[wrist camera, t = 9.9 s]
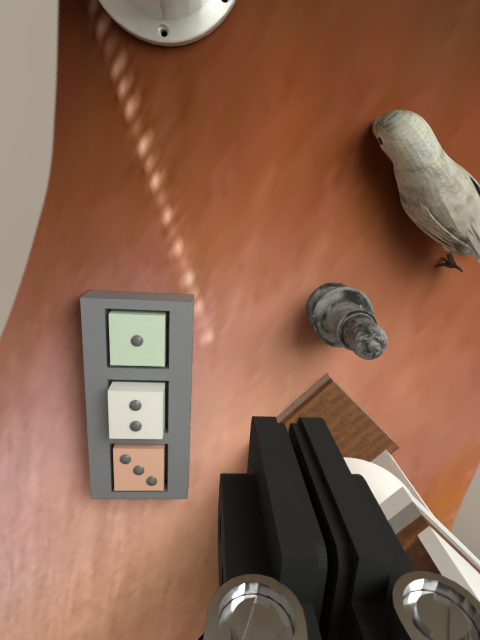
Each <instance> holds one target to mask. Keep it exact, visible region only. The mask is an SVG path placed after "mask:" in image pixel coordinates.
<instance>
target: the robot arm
mask: <svg viewBox="0 0 480 640" xmlns="http://www.w3.org/2000/svg"><path fill="white" fill-rule="evenodd" d="M99 2H100V4H101V5H102V7H103V8H104V9H105V10H106V12H107V13H108V14H109V15H110V17H111V18H112V19H113V20H114V21H115V22H116V23H117V24H118V25H119V26H121V27H122V28H123V29H124V30H125V31H127V32H128V33H130V34H132V35H133V36H135V37H137V38H138V39H140V40H143V41H146V42H148V43H151V44H155V45H161V46H183V45H186V44H189V43H193V42H196V41H198V40H200V39H202V38H204V37H205V36H207V35H209V34H210V33H211V32H213V31H214V30H215V29H216V28H217V27H218V26H219V25H221V24H222V22H223V21H224V20H225V18H226V17H227V16H228V14H229V13H230V12H231V10H232V8H233V6H234V4H235V2H236V0H228V2H227V3H224V2H222V1H221V0H99ZM162 32H167V36H166V37H162V36H161V34H162ZM218 559H219V589H218V590H217V592H216V593H215V595H214V596H213V597H212V600H211V603H210V606H209V609H208V612H207V619H206V625H205V632H204V634H203V635H202V636H201V637H200V638H199V639H198V640H480V602H479V601H478V600H477V599H476V598H475V597H474V596H473V595H472V594H471V593H470V592H469V591H468V590H466V589H465V588H464V587H462V586H461V585H459V584H458V583H456V582H455V581H453V580H451V579H449V578H446V577H444V576H442V575H440V574H436V573H432V572H428V571H415V569H414V567H413V565H412V563H411V562H410V560H409V558H408V556H407V554H406V553H405V551H404V549H403V547H402V545H401V543H400V542H399V540H398V538H397V536H396V534H395V533H394V531H393V529H392V527H391V525H390V524H389V522H388V520H387V518H386V516H385V514H384V513H383V511H382V509H381V507H380V505H379V504H378V502H377V500H376V498H375V496H374V495H373V493H372V491H371V489H370V487H369V485H368V484H367V482H366V480H365V479H364V477H363V476H362V475H360V474H352V473H351V472H350V470H349V468H348V466H347V464H346V462H345V460H344V458H343V456H342V454H341V452H340V450H339V448H338V446H337V444H336V442H335V440H334V438H333V437H332V435H331V433H330V431H329V429H328V427H327V425H326V423H325V421H324V419H323V418H321V417H299V418H298V420H297V423H291V424H290V426H289V432H287V429H286V426H285V423H278V422H277V419H276V417H258V416H253V417H252V420H251V431H250V444H249V457H248V470H247V474H221V475H220V486H219V505H218Z"/></svg>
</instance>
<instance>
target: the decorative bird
mask: <svg viewBox="0 0 480 640" xmlns="http://www.w3.org/2000/svg"><path fill="white" fill-rule="evenodd" d="M373 134H374V135H375V137H376V138H377V140H378V142H379V144H380V147H381V149H382V150H383V151H384V152H385V153H386V155H387V156H388V157H389V158H390V159H391V161H392V162H393V164H394V167H393V169H394V173H395V178H396V181H397V185H398V190H399V195H400V201H401V204H402V206H403V208H404V210H405V212H406V213H407V215H408V216H409V217H410V218H411V220H412V221H413V222H414V223H415V224H416V225H417V226H418V227H419V228H420V229H421V230H422V231H423V232H424V233H425V234H427V235H428V236H429V237H431V238H432V239H433V240H435V241H436V242H438V243H439V244H441V245H442V247H443V248H444V250H445V252H446V253H447V258H448V260H447V259H445V258H441V259H442V260H443V261H445V262H446V263H442V264H439V265H437V266H436V267H438V266H445V267H449V268H456V269H458V270H460V271H461V272H463V271H462V269H461V268H460V267H458V266H457V265H456V263H455V261H454V260H453V256H452V254H451V253H452V252H454V253H457V254H460V255H474V256H475V258H476V259H477V261H478V262H479V264H480V185H479V183H478V182H477V181H476V180H475V179H474V177H473V176H471V175H470V174H469V173H468V172H467V171H466V170H465V169H464V168H463V167H461V166H460V165H458V164H457V163H455V162H454V161H453V160H452V159H450V158H449V157H448V156H447V154H446V153H445V152H444V151H443V149H442V148H441V146H440V144H439V142H438V140H437V139H436V137H435V135H434V133H433V131H432V129H431V128H430V126H429V125H428V124H427V123H426V121H425V120H424V119H423V118H422V117H420V116H419V115H418V114H416V113H414V112H410V111H406V110H393V111H390V112H388V113H386V114H385V115H383V116H381V117H379V118H378V119H377V120H376V121H374V123H373Z"/></svg>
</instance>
